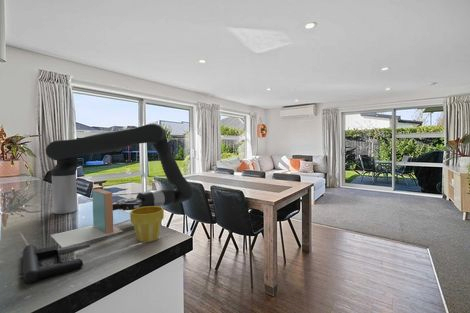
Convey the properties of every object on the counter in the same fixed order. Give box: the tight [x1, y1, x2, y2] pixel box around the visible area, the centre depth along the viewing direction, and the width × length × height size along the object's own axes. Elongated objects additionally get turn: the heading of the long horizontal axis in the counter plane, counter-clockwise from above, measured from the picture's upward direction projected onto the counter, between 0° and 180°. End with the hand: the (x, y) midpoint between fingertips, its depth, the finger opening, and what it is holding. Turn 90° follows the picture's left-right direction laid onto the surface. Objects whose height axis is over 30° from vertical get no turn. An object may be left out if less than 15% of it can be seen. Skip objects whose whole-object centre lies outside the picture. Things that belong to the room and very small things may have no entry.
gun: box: [18, 242, 90, 284], centre depth 64 cm, size 3×20×16 cm
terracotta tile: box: [91, 188, 114, 234], centre depth 86 cm, size 12×3×14 cm, turn 49°
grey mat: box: [50, 225, 123, 248], centre depth 82 cm, size 15×18×1 cm
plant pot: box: [129, 206, 165, 243], centre depth 79 cm, size 10×10×10 cm
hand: (107, 208), depth 87 cm, fingers closed
